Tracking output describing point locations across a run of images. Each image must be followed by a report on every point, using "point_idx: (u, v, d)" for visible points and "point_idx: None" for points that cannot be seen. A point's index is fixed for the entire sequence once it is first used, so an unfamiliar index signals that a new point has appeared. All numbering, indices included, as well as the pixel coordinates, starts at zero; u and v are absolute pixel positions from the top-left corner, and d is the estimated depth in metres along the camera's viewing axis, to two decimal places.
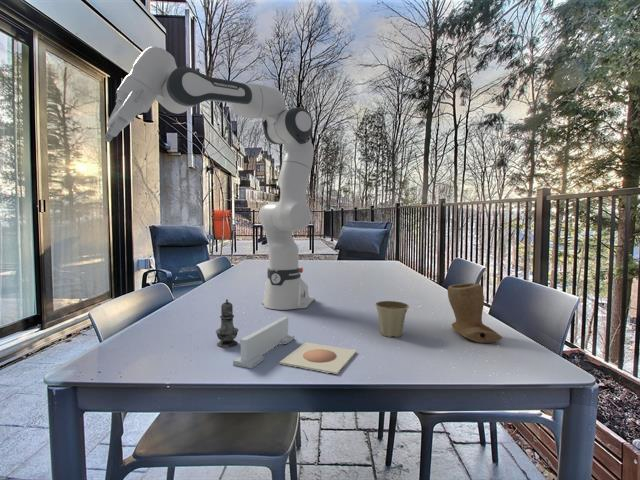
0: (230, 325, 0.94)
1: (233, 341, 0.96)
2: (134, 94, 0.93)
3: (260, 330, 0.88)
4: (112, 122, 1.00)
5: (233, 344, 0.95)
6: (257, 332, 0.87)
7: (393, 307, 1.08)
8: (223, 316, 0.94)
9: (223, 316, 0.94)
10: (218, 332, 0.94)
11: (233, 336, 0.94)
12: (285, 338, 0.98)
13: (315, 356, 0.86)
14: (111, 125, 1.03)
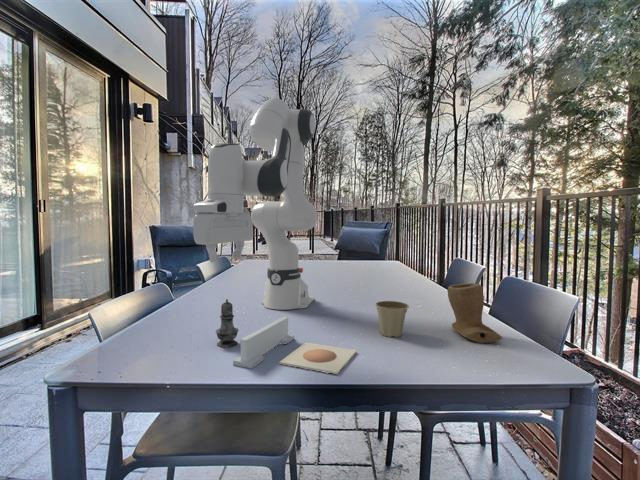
0: (230, 325, 0.94)
1: (233, 341, 0.96)
2: None
3: (260, 330, 0.88)
4: (225, 242, 0.92)
5: (233, 344, 0.95)
6: (257, 332, 0.87)
7: (393, 307, 1.08)
8: (223, 316, 0.94)
9: (223, 316, 0.94)
10: (218, 332, 0.94)
11: (233, 336, 0.94)
12: (285, 338, 0.98)
13: (315, 356, 0.86)
14: None
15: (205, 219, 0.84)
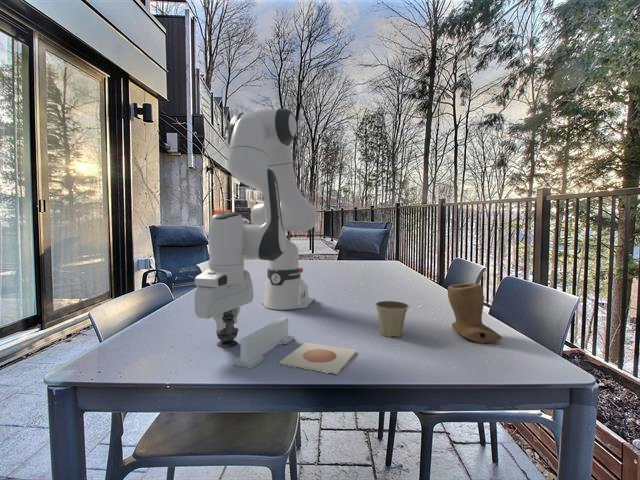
0: (230, 325, 0.94)
1: (233, 341, 0.96)
2: None
3: (260, 330, 0.88)
4: None
5: (233, 344, 0.95)
6: (257, 332, 0.87)
7: (393, 307, 1.08)
8: (223, 316, 0.94)
9: (223, 316, 0.94)
10: (218, 332, 0.94)
11: (233, 336, 0.94)
12: (285, 338, 0.98)
13: (315, 356, 0.86)
14: None
15: (206, 294, 0.86)
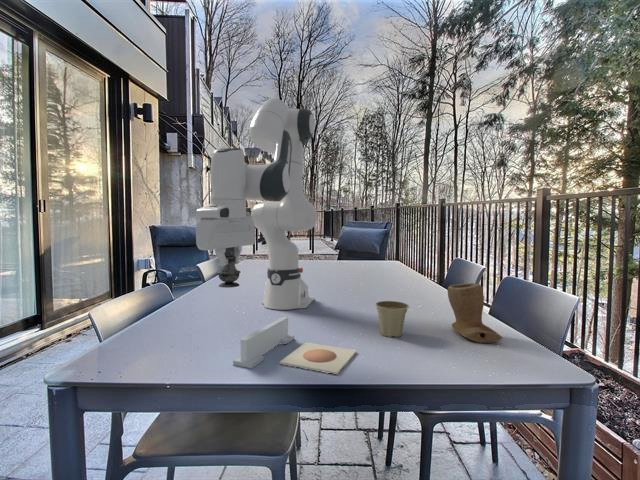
0: (231, 265, 0.93)
1: (235, 283, 0.95)
2: None
3: (260, 330, 0.88)
4: (228, 247, 0.92)
5: (235, 285, 0.93)
6: (257, 332, 0.87)
7: (393, 307, 1.08)
8: (225, 256, 0.93)
9: None
10: (220, 272, 0.92)
11: (235, 277, 0.93)
12: (285, 338, 0.98)
13: (315, 356, 0.86)
14: (225, 248, 0.91)
15: (207, 225, 0.84)
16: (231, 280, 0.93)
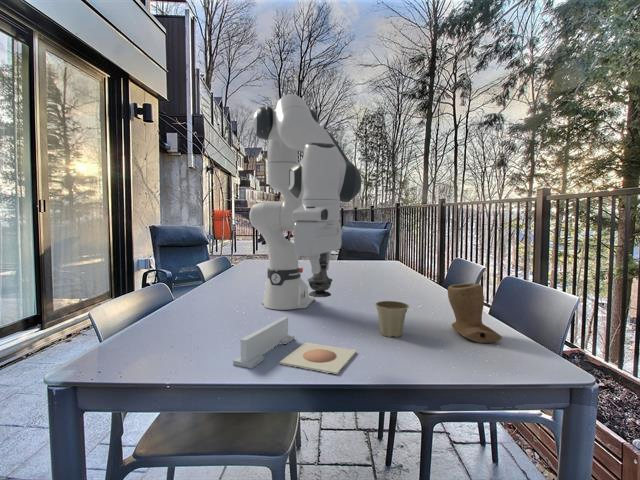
0: (324, 273, 0.84)
1: (326, 292, 0.86)
2: None
3: (260, 330, 0.88)
4: None
5: (328, 294, 0.84)
6: (257, 332, 0.87)
7: (393, 307, 1.08)
8: None
9: None
10: (312, 280, 0.84)
11: (328, 285, 0.84)
12: (285, 338, 0.98)
13: (315, 356, 0.86)
14: (319, 253, 0.82)
15: (308, 228, 0.75)
16: (324, 289, 0.84)
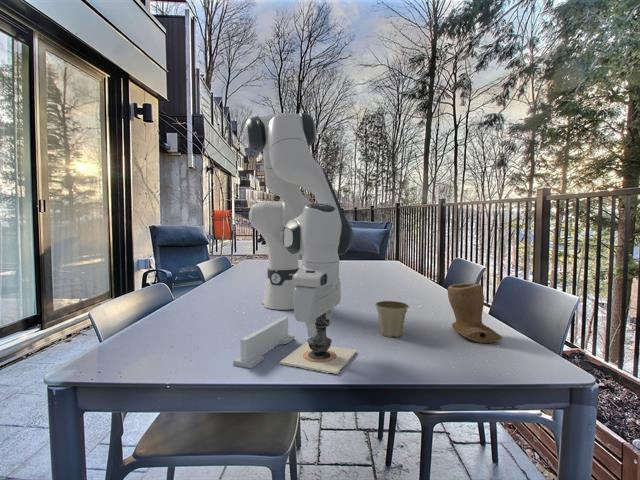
0: (324, 334, 0.85)
1: (325, 352, 0.87)
2: None
3: (260, 330, 0.88)
4: None
5: (327, 356, 0.85)
6: (257, 332, 0.87)
7: (393, 307, 1.08)
8: (317, 325, 0.85)
9: (316, 325, 0.85)
10: (311, 342, 0.85)
11: (328, 347, 0.85)
12: (285, 338, 0.98)
13: None
14: None
15: (308, 295, 0.76)
16: (324, 351, 0.85)
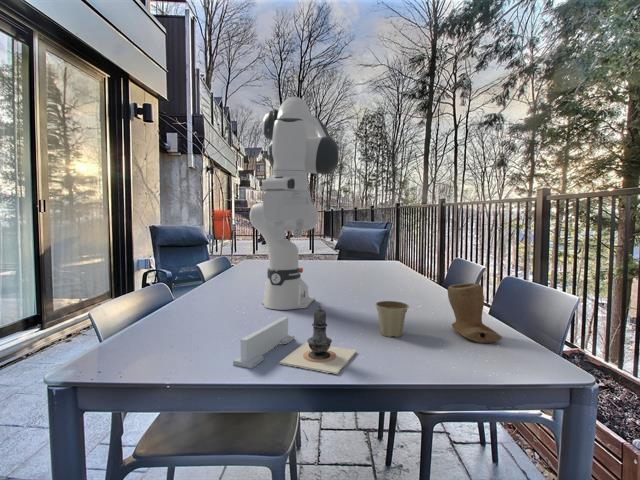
0: (324, 334, 0.85)
1: (325, 352, 0.87)
2: None
3: (260, 330, 0.88)
4: (291, 220, 0.90)
5: (327, 356, 0.85)
6: (257, 332, 0.87)
7: (393, 307, 1.08)
8: (317, 325, 0.85)
9: (316, 325, 0.85)
10: (311, 342, 0.85)
11: (328, 347, 0.85)
12: (285, 338, 0.98)
13: None
14: (283, 221, 0.87)
15: (276, 196, 0.83)
16: (324, 351, 0.85)
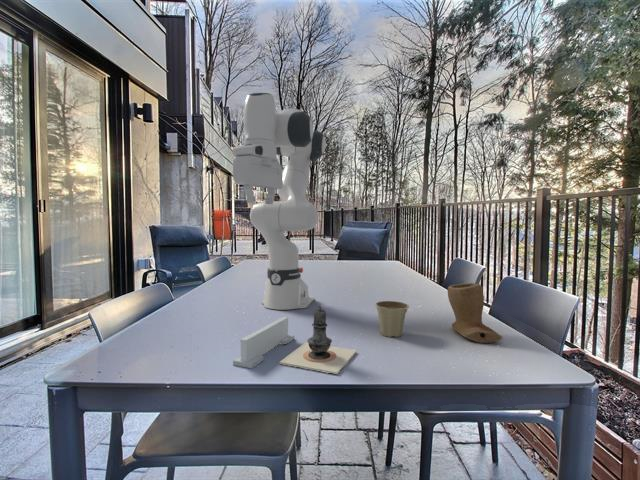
0: (324, 334, 0.85)
1: (325, 352, 0.87)
2: None
3: (260, 330, 0.88)
4: (260, 186, 0.98)
5: (327, 356, 0.85)
6: (257, 332, 0.87)
7: (393, 307, 1.08)
8: (317, 325, 0.85)
9: (316, 325, 0.85)
10: (311, 342, 0.85)
11: (328, 347, 0.85)
12: (285, 338, 0.98)
13: None
14: (252, 185, 0.95)
15: (244, 160, 0.91)
16: (324, 351, 0.85)
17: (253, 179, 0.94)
